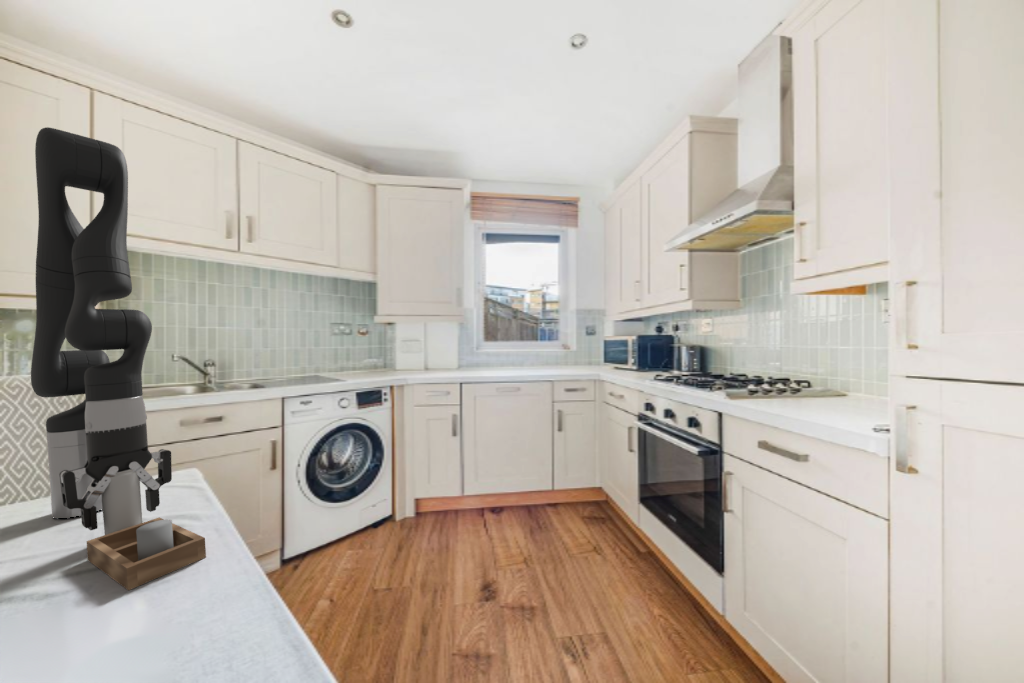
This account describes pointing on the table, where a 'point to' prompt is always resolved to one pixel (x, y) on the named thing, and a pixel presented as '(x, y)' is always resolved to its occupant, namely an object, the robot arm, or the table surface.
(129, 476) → the beverage can
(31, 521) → the table surface
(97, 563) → the rack
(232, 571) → the table surface
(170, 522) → the stub
